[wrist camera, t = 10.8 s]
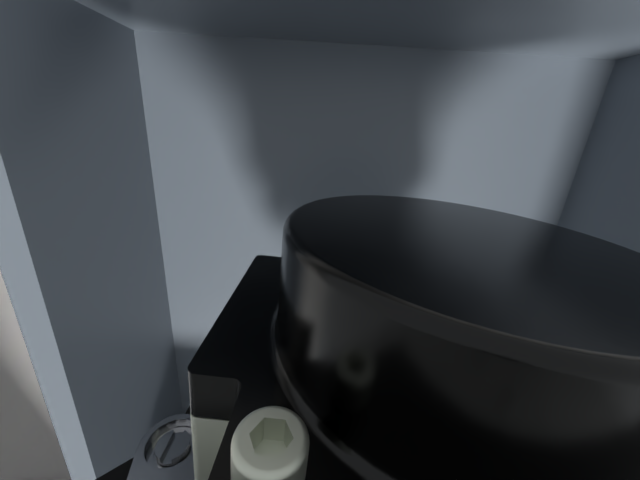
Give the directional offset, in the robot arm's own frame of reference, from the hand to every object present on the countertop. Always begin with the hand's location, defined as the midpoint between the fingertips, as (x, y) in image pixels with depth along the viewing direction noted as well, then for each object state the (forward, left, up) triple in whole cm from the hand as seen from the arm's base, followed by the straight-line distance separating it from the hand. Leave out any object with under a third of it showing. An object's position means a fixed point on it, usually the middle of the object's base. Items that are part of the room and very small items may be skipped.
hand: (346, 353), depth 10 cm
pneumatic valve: (0, 0, -3) cm, 3 cm away
